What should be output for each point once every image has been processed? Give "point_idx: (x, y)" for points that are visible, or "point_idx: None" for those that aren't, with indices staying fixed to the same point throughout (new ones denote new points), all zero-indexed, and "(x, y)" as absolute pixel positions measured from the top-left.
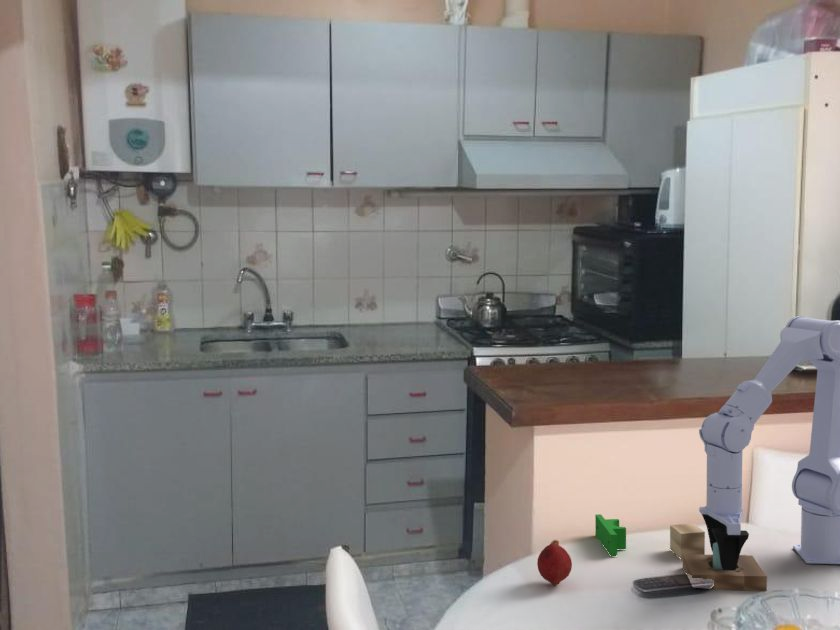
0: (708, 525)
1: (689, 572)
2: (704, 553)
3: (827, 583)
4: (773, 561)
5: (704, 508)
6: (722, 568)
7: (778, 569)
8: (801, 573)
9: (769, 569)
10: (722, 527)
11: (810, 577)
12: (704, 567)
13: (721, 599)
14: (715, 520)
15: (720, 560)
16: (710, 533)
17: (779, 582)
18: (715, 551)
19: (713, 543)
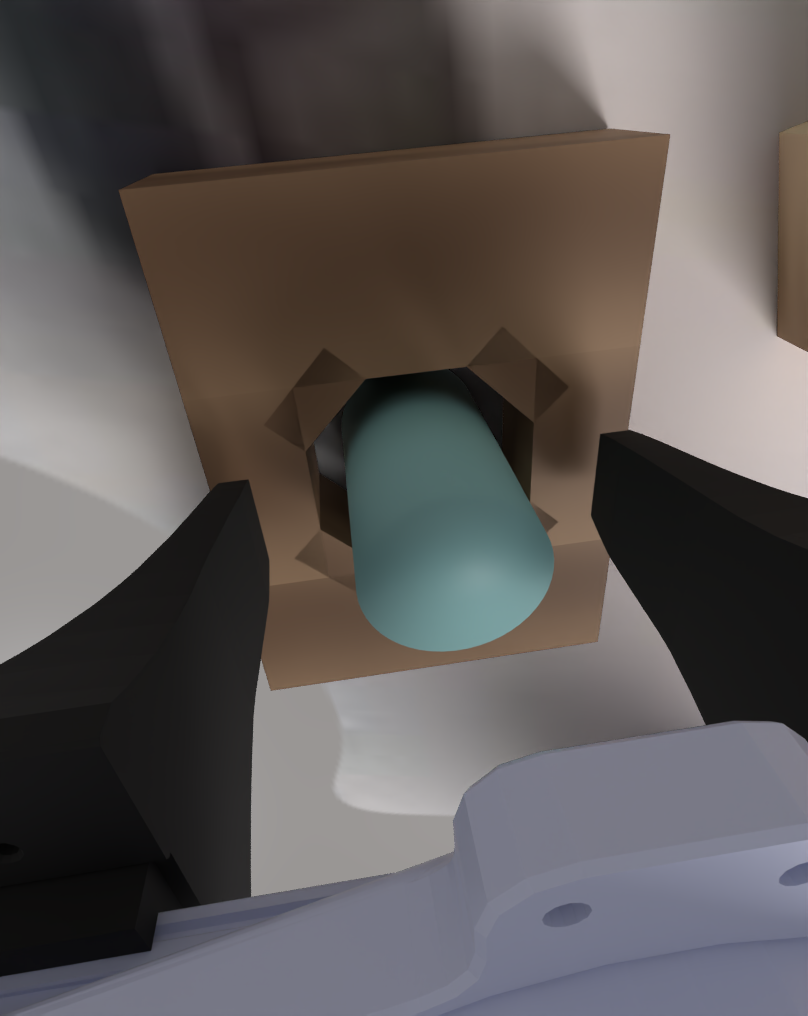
0: (766, 550)
1: (292, 168)
2: (800, 346)
3: (417, 803)
4: (659, 666)
5: (693, 924)
6: (217, 485)
7: (561, 678)
8: (515, 744)
9: (562, 648)
10: (716, 658)
11: (473, 765)
12: (343, 329)
13: (40, 387)
14: (790, 668)
15: (215, 509)
16: (700, 510)
17: (401, 674)
18: (396, 489)
19: (509, 502)
